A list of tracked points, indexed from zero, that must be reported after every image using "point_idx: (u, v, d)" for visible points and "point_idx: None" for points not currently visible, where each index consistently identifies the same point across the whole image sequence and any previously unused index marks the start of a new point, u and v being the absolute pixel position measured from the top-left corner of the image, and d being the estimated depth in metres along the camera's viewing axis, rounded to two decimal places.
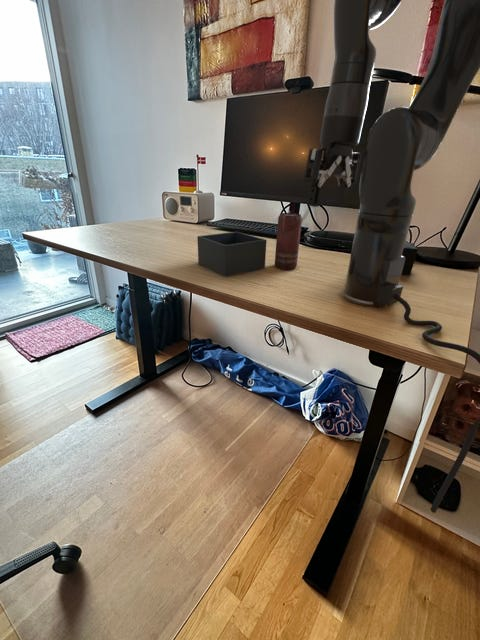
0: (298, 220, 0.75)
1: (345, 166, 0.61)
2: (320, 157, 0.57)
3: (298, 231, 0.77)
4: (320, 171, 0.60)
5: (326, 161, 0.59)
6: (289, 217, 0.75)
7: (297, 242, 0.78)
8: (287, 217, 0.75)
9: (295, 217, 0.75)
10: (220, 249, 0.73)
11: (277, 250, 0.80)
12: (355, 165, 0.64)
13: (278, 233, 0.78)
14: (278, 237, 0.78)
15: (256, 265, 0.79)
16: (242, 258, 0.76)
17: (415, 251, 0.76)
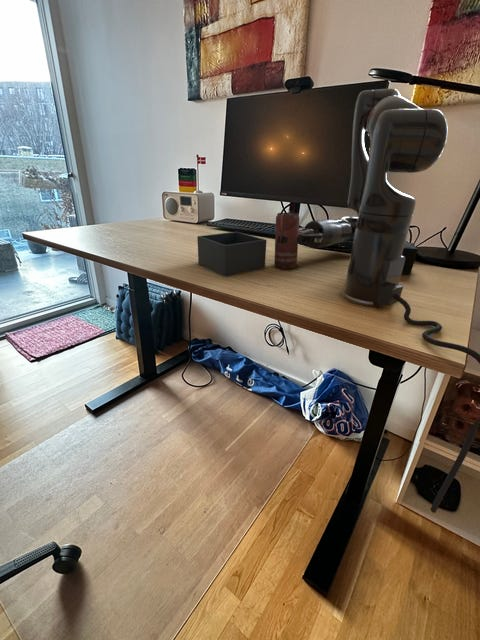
0: (296, 218, 0.75)
1: None
2: None
3: (296, 229, 0.77)
4: None
5: None
6: (286, 216, 0.75)
7: (296, 240, 0.78)
8: (285, 216, 0.75)
9: (292, 215, 0.75)
10: (220, 249, 0.73)
11: (276, 249, 0.80)
12: None
13: (276, 232, 0.78)
14: (277, 236, 0.79)
15: (256, 265, 0.79)
16: (242, 258, 0.76)
17: (415, 251, 0.76)
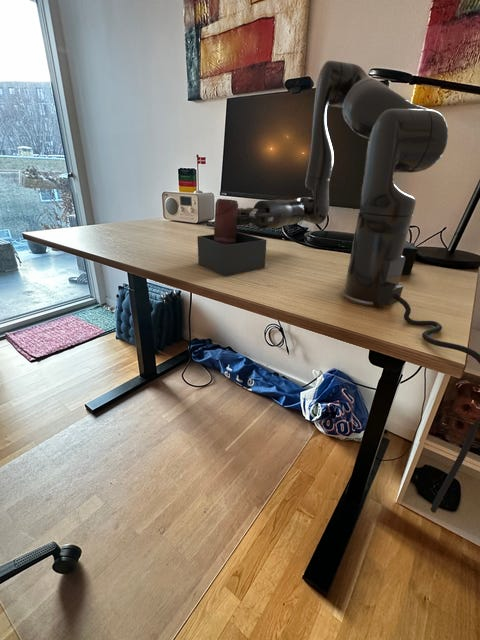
0: (232, 204, 0.77)
1: (253, 210, 0.78)
2: None
3: (232, 215, 0.78)
4: None
5: None
6: (222, 200, 0.77)
7: (232, 226, 0.79)
8: (221, 200, 0.77)
9: (228, 201, 0.77)
10: (220, 249, 0.73)
11: (214, 235, 0.81)
12: None
13: (215, 218, 0.80)
14: None
15: (256, 265, 0.79)
16: (242, 258, 0.76)
17: (415, 251, 0.76)
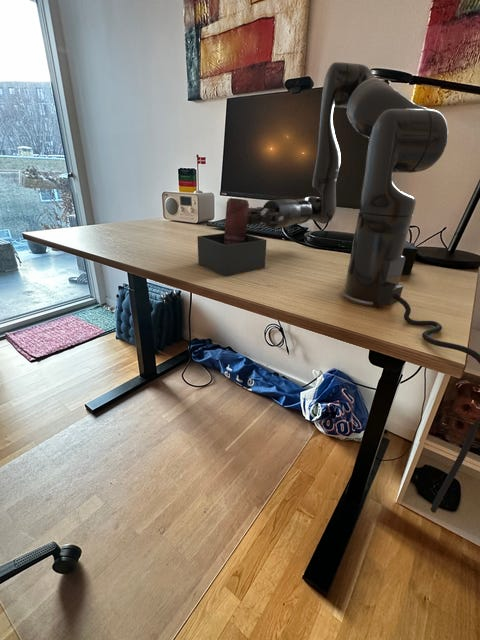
0: (243, 203, 0.79)
1: (263, 209, 0.80)
2: None
3: (243, 214, 0.80)
4: None
5: None
6: (234, 200, 0.79)
7: (242, 225, 0.81)
8: (232, 200, 0.79)
9: (240, 200, 0.79)
10: (220, 249, 0.73)
11: (224, 233, 0.83)
12: None
13: (226, 216, 0.82)
14: (225, 220, 0.82)
15: (256, 265, 0.79)
16: (242, 258, 0.76)
17: (415, 251, 0.76)
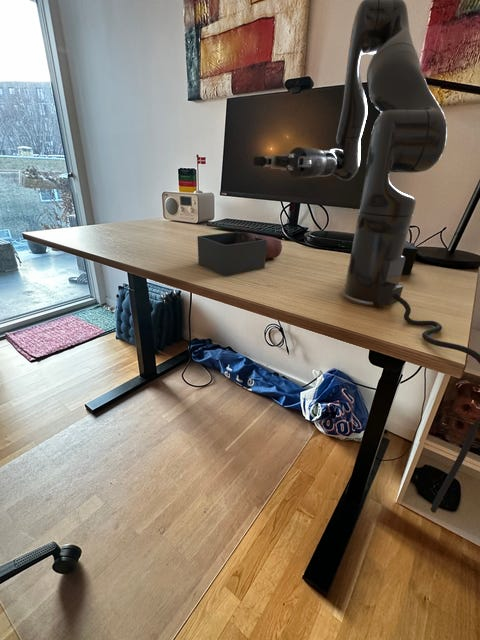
0: (278, 253, 0.88)
1: None
2: None
3: (271, 254, 0.87)
4: None
5: None
6: (281, 245, 0.88)
7: None
8: (280, 243, 0.88)
9: (281, 250, 0.88)
10: (220, 249, 0.73)
11: None
12: None
13: (267, 236, 0.86)
14: (265, 236, 0.85)
15: (256, 265, 0.79)
16: (242, 258, 0.76)
17: (415, 251, 0.76)
